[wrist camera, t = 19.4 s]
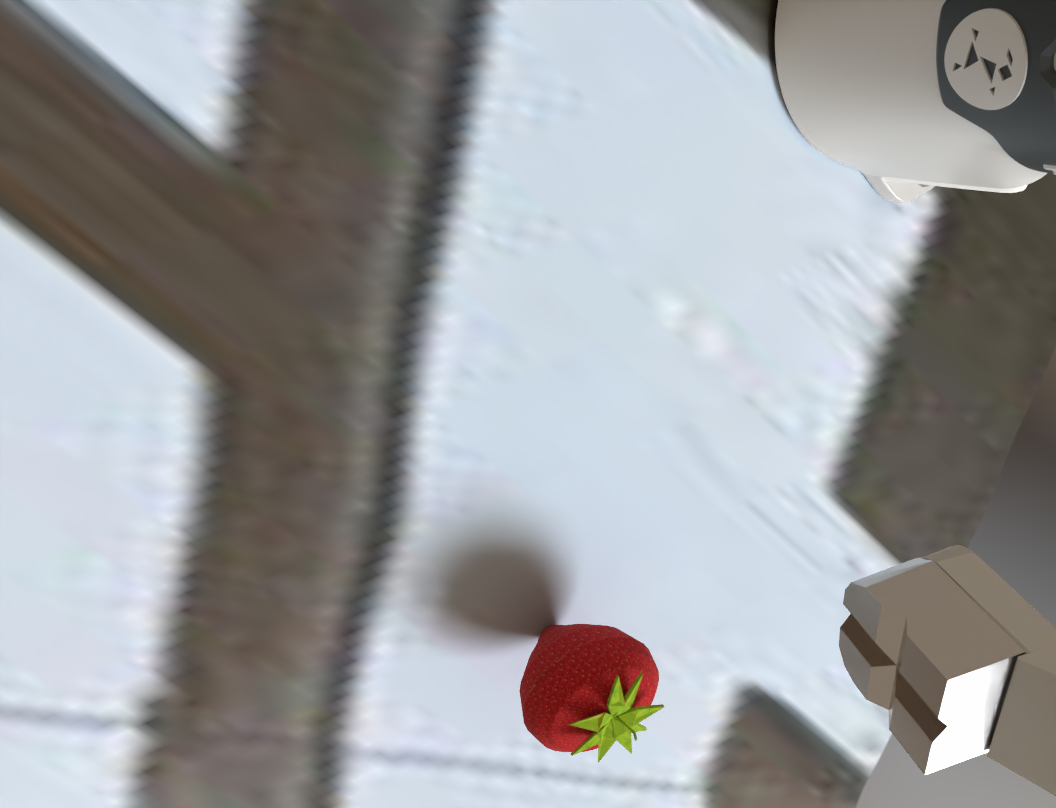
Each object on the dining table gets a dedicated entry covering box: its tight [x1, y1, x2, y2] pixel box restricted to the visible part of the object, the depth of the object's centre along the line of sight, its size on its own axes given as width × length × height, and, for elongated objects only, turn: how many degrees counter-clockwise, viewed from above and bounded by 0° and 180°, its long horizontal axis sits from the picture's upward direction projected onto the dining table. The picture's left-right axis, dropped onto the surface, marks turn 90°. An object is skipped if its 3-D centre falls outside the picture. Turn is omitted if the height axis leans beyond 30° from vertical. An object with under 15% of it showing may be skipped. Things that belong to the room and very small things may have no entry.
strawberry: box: [520, 624, 664, 762], centre depth 46 cm, size 6×8×10 cm
